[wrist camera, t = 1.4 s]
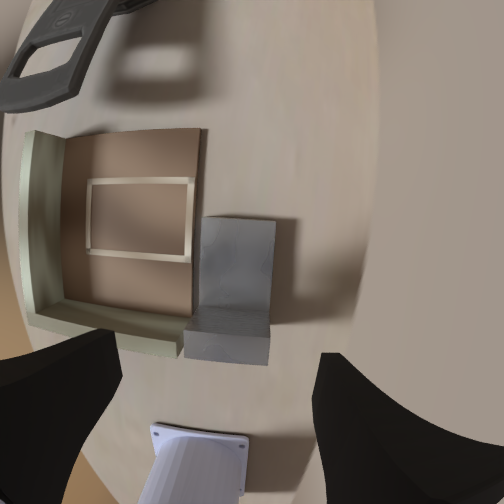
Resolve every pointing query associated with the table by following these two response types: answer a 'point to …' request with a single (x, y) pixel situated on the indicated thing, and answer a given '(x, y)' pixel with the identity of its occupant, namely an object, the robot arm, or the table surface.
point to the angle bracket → (233, 292)
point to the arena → (110, 235)
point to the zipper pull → (52, 31)
